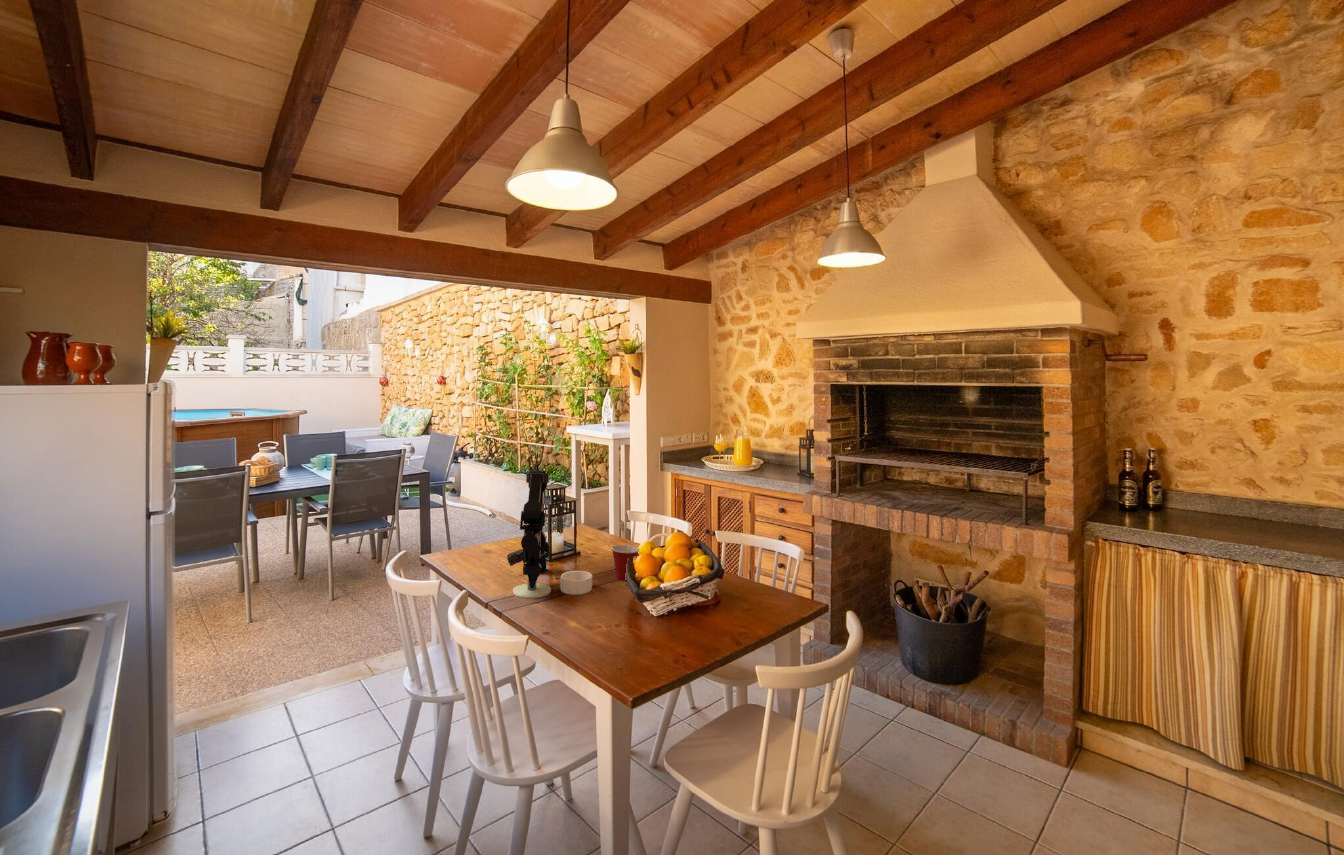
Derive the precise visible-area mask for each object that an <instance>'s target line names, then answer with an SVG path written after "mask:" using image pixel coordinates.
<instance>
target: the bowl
mask: <svg viewBox="0 0 1344 855" xmlns="http://www.w3.org/2000/svg"><path fill="white" fill-rule="evenodd" d="M559 580H560V581H559V582H560V584H559V588H560V592H561V593H563V594H565V595H568V596H580V595H586V594H588V593H590V592H591V591H592V588H593V574H592V573H590V572H588V571H585V570H571V571H566V572H563V573H561V575H560V578H559Z"/></svg>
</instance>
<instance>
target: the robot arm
mask: <svg viewBox="0 0 1344 855" xmlns="http://www.w3.org/2000/svg"><path fill="white" fill-rule="evenodd" d="M525 476H526V477H525V478H526V482H525V483H527V484H528V488H529V489H528V498H527V501H526V503H524V504H523V509H522V510H521V513H520V521H519V522H520V523H519V530H520V531H521V530H522V531H523V535H522V538H521V540H520V547H521V549H518V550H515V551H513V552H511V553H508V554H507V555H506V559H507V563H508V564H509V566H510V567H512V566H514V565H516V564H519V563H523V564H522V575H524V576H527V580H528V579H529V584H530V588H534V586H535V583H537V581H538V578H539V576H540V575H541V574H544V573H546V572H549V569H548V568H547V558H548V557H550V556H551V548H550V544H549V542H548V541H547V535H546V534H545V532H544V531H543V529H544V527H545V526H546V513H545V510H544V493H545V492H546V489H547V488H548V484H549V483H550V473H547V470H530V472H529V473H526V474H525Z"/></svg>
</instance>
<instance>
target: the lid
mask: <svg viewBox="0 0 1344 855" xmlns="http://www.w3.org/2000/svg"><path fill="white" fill-rule="evenodd" d="M551 592H552V588H551V586H550V585H548V584H545V583H541V582H536V583H535V586H534V588H530V584H529V579H528V578H527V583H522V584H519V585H517V586H514V588H513V589H512V595H513V596H514V597H516V598H519V599H525V600H530V599H531V600H532V599H534V600H535V599H540V598H544V597H546V596H548V595H549V594H550V593H551Z"/></svg>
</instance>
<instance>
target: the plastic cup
mask: <svg viewBox="0 0 1344 855" xmlns="http://www.w3.org/2000/svg"><path fill="white" fill-rule="evenodd" d="M611 551H612V556H613V562H614V563H613V564H614V570H615V575H616V579H617V581H618V580H619V581H622V582H623V581H625V573H626V564H627V558H629V557H630V556H636V555H637V556H638V553H639V552H640V548H639V547H637V546H632V545H627V544H626V545H624V544H617V545H612V546H611Z"/></svg>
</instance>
